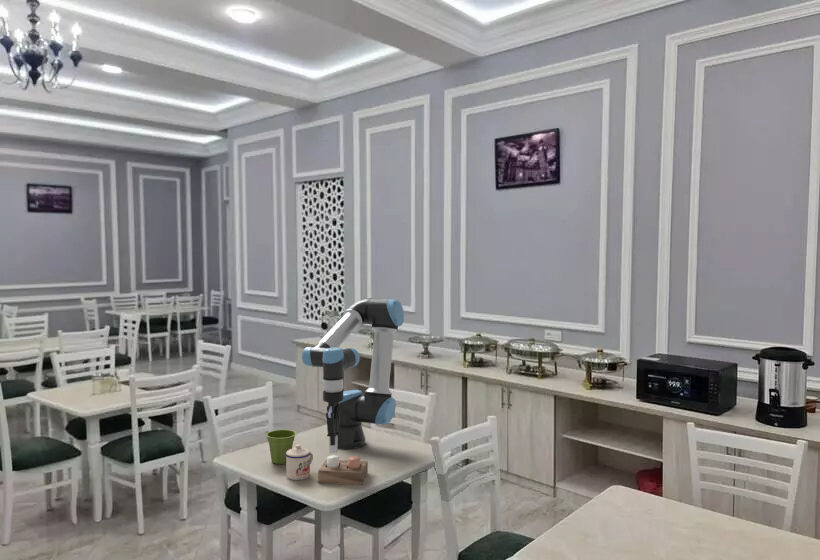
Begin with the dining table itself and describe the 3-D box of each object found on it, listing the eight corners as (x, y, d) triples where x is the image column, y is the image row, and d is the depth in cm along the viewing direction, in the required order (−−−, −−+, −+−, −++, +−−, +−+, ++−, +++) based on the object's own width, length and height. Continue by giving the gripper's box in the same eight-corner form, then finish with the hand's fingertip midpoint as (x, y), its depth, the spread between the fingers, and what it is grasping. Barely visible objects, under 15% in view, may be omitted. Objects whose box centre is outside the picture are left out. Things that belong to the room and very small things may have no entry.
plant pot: (285, 468, 222) (285, 439, 222) (259, 464, 227) (259, 435, 226) (302, 458, 233) (302, 431, 233) (277, 454, 238) (277, 427, 237)
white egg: (328, 470, 216) (328, 455, 216) (340, 471, 215) (340, 455, 215) (325, 475, 211) (325, 459, 211) (337, 475, 211) (337, 459, 211)
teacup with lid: (297, 482, 208) (297, 450, 208) (280, 476, 213) (280, 445, 213) (320, 472, 218) (321, 442, 218) (303, 467, 223) (303, 437, 223)
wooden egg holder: (326, 470, 220) (326, 459, 220) (367, 472, 218) (367, 461, 218) (318, 482, 208) (318, 470, 208) (361, 484, 206) (361, 472, 206)
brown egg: (349, 471, 215) (349, 455, 215) (361, 472, 215) (361, 456, 214) (347, 476, 211) (347, 460, 210) (358, 476, 210) (358, 460, 210)
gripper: (327, 385, 219) (327, 446, 220) (318, 393, 206) (319, 458, 207) (346, 386, 218) (347, 447, 220) (339, 394, 206) (339, 459, 207)
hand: (333, 452), depth 213 cm, fingers closed
